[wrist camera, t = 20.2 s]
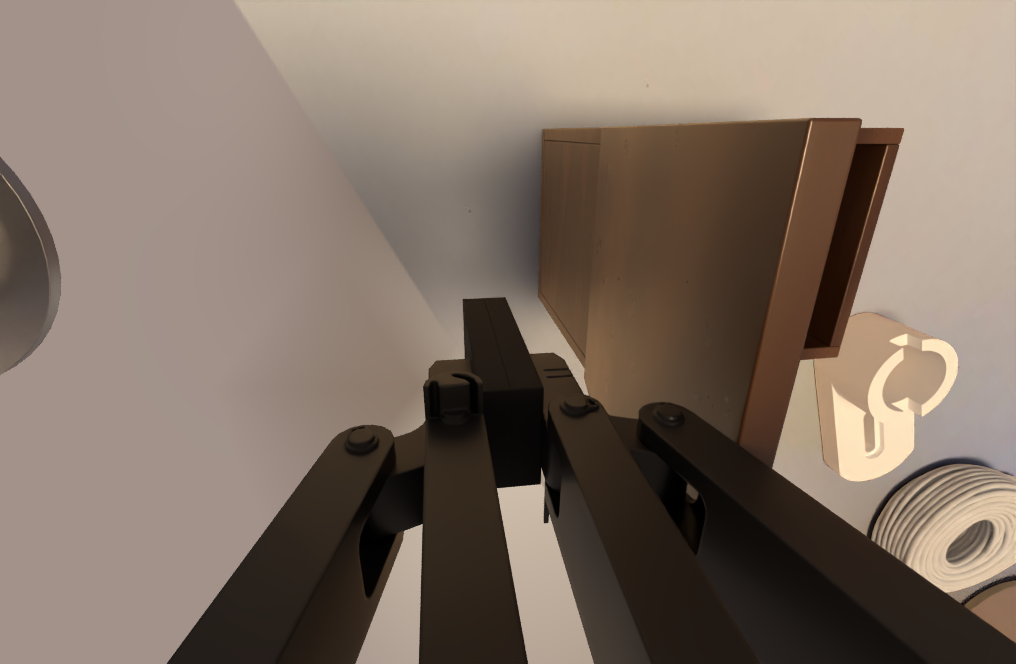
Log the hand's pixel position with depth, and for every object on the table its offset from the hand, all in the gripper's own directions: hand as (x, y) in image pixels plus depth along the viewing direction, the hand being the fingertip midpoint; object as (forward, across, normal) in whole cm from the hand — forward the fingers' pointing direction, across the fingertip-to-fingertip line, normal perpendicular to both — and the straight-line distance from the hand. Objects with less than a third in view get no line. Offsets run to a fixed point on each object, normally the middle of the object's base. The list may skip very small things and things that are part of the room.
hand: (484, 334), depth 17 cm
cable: (+24, +58, -38) cm, 74 cm away
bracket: (+24, +42, -20) cm, 52 cm away
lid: (0, +6, 0) cm, 6 cm away
